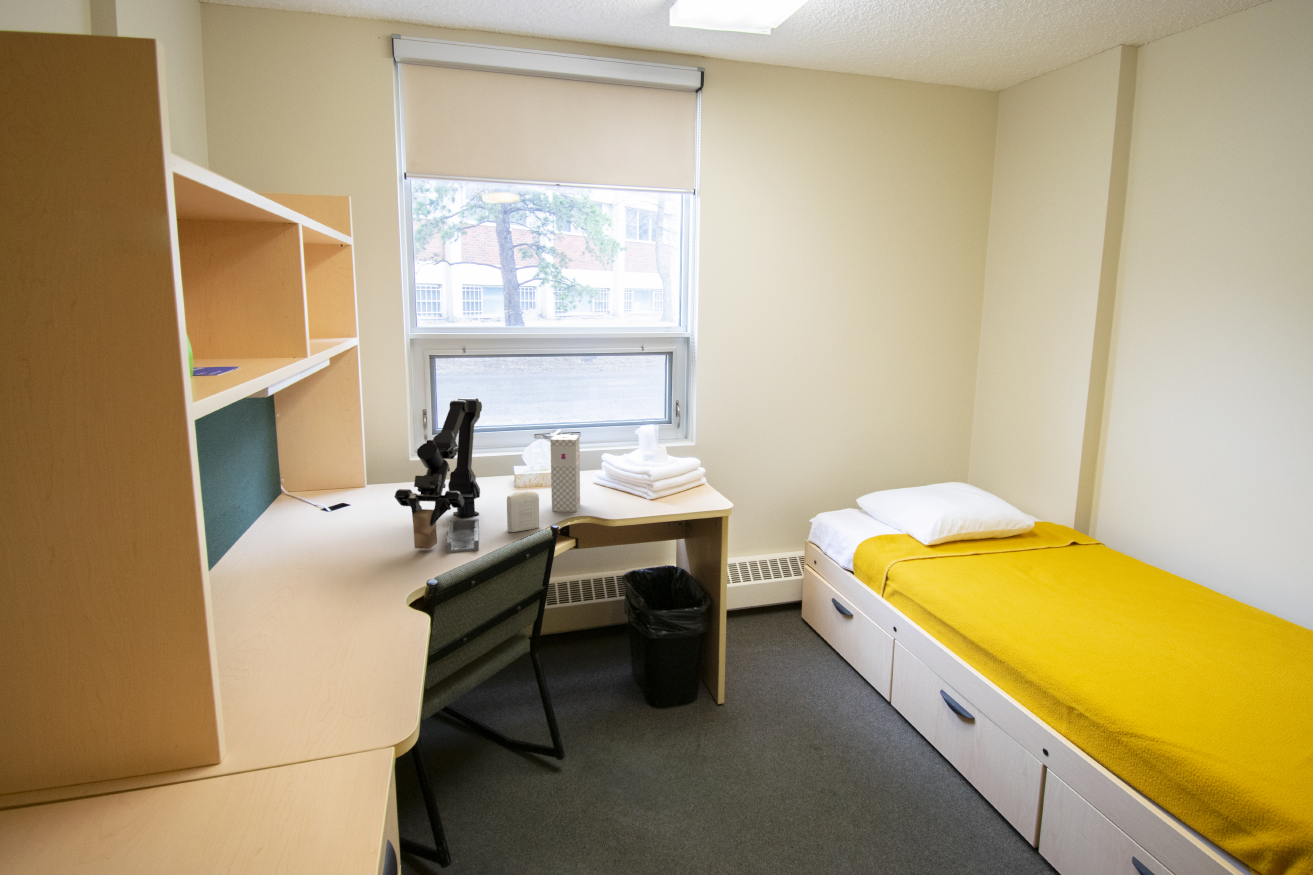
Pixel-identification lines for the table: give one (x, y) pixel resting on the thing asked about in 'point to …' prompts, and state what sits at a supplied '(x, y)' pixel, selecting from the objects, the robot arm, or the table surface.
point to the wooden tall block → (424, 529)
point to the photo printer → (522, 511)
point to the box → (565, 473)
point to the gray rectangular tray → (463, 536)
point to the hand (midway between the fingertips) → (422, 525)
